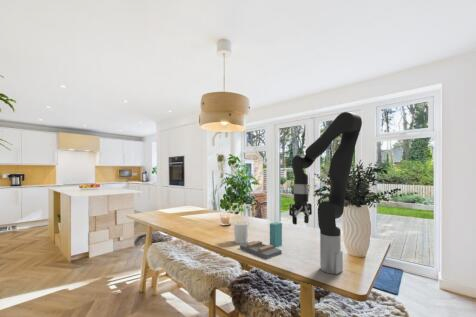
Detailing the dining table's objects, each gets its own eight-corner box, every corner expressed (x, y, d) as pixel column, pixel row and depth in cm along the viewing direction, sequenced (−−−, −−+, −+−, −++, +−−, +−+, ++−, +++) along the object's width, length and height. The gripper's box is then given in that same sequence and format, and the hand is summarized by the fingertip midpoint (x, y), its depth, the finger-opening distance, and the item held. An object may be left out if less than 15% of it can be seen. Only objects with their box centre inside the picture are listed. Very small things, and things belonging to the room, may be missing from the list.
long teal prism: (281, 245, 153) (281, 223, 153) (275, 247, 149) (275, 224, 149) (276, 244, 156) (276, 221, 157) (269, 246, 152) (269, 223, 152)
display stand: (281, 253, 139) (281, 247, 139) (267, 259, 131) (267, 252, 131) (254, 244, 156) (254, 238, 156) (240, 248, 148) (240, 242, 148)
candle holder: (231, 240, 163) (231, 222, 164) (245, 238, 167) (245, 221, 167) (236, 244, 154) (236, 225, 154) (251, 243, 158) (251, 224, 158)
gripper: (296, 193, 124) (296, 226, 123) (315, 193, 131) (315, 223, 130) (286, 192, 130) (285, 223, 129) (305, 192, 138) (304, 221, 137)
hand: (300, 223), depth 130 cm, fingers open, 8 cm apart
